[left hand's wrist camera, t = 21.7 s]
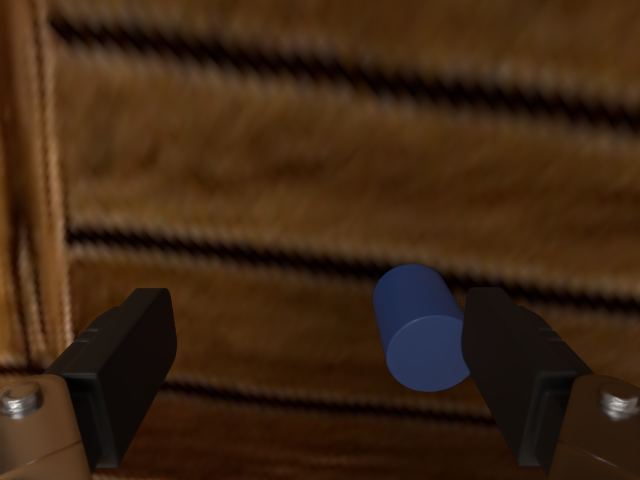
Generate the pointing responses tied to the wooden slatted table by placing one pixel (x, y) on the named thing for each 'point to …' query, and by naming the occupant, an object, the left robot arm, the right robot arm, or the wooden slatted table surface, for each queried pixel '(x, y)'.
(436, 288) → the canister
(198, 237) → the wooden slatted table surface
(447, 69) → the wooden slatted table surface
